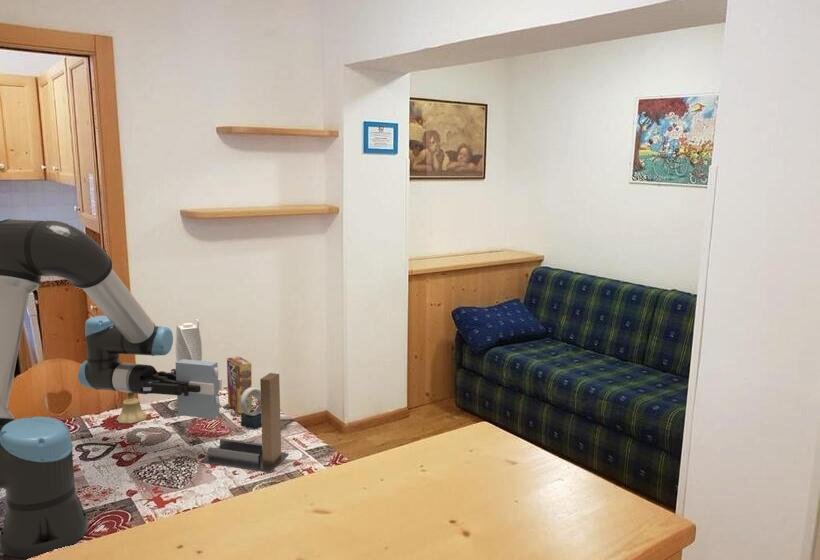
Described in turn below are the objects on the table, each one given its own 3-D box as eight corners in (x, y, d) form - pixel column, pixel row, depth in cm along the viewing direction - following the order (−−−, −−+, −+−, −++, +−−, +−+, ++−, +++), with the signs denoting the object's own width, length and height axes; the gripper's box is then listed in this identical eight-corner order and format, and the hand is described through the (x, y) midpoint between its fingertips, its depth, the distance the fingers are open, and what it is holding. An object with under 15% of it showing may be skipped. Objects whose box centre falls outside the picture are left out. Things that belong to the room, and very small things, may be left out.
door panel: (216, 419, 162) (214, 366, 159) (178, 415, 164) (175, 362, 162) (222, 415, 165) (220, 362, 162) (185, 410, 167) (182, 359, 165)
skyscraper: (212, 405, 198) (208, 316, 193) (196, 414, 190) (191, 322, 185) (188, 401, 200) (184, 314, 195) (172, 411, 193) (167, 320, 188)
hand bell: (130, 411, 192) (127, 360, 189) (153, 415, 190) (150, 363, 187) (110, 421, 184) (106, 368, 182) (133, 425, 182) (130, 371, 179)
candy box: (253, 411, 194) (252, 362, 191) (240, 414, 191) (238, 365, 188) (240, 402, 200) (239, 355, 198) (227, 405, 198) (225, 357, 195)
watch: (271, 422, 185) (270, 386, 183) (249, 431, 179) (247, 394, 177) (258, 418, 188) (257, 382, 186) (236, 426, 182) (234, 389, 180)
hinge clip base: (270, 472, 155) (267, 383, 151) (200, 462, 160) (196, 376, 156) (288, 454, 165) (286, 371, 161) (222, 445, 170) (219, 364, 166)
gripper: (156, 382, 176) (233, 390, 170) (116, 402, 160) (200, 412, 155) (154, 356, 175) (232, 363, 169) (114, 374, 159) (198, 382, 154)
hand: (216, 386), depth 162 cm, fingers closed on door panel, 3 cm apart
